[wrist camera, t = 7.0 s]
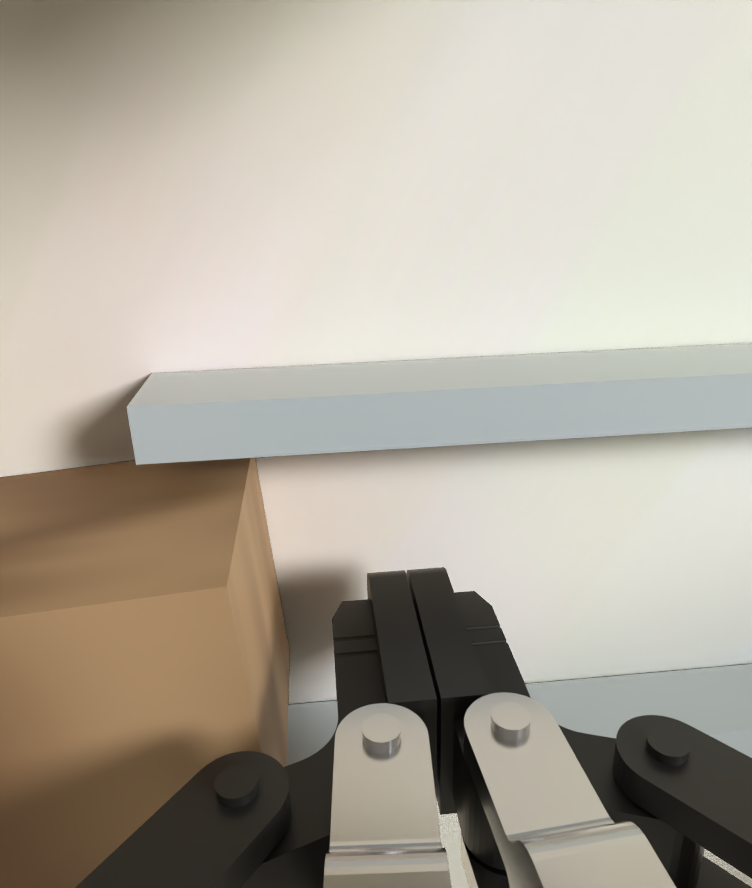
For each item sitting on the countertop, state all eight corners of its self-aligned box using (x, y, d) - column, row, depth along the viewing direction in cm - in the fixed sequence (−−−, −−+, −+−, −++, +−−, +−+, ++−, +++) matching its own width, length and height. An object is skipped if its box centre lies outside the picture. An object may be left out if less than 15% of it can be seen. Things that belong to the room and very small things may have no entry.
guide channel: (1131, 323, 15) (1251, 346, 13) (1000, 673, 18) (1081, 731, 16) (152, 373, 13) (126, 406, 11) (207, 745, 16) (195, 819, 14)
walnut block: (252, 445, 14) (226, 586, 9) (289, 652, 16) (284, 857, 11) (-169, 499, 13) (-420, 674, 9) (-78, 705, 15) (-246, 939, 11)
